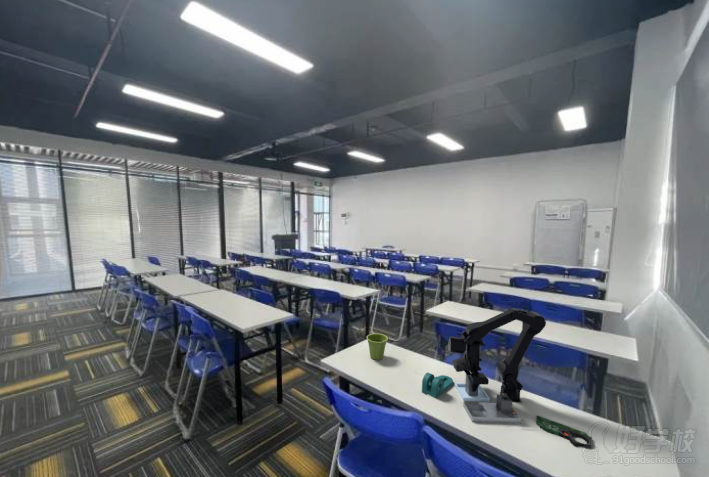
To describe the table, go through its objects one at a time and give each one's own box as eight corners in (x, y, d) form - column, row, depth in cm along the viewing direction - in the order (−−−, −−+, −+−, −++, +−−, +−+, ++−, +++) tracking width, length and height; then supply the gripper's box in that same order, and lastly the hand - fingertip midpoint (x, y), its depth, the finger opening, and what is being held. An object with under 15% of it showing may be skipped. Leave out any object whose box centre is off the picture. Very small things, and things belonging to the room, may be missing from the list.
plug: (474, 390, 125) (474, 371, 125) (477, 396, 121) (478, 376, 121) (465, 390, 125) (465, 371, 125) (468, 395, 121) (469, 376, 121)
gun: (534, 428, 102) (537, 413, 110) (534, 432, 102) (536, 417, 110) (593, 450, 92) (591, 433, 100) (592, 455, 92) (590, 437, 100)
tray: (478, 387, 129) (479, 383, 129) (490, 402, 117) (490, 398, 117) (454, 386, 129) (454, 382, 129) (463, 401, 118) (463, 397, 118)
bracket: (435, 400, 119) (436, 381, 119) (421, 393, 124) (422, 375, 123) (455, 384, 131) (455, 367, 131) (442, 378, 136) (442, 362, 136)
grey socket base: (507, 409, 113) (508, 387, 113) (520, 424, 104) (521, 401, 104) (463, 407, 114) (464, 385, 114) (471, 423, 105) (472, 399, 105)
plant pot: (361, 357, 155) (362, 337, 155) (374, 350, 164) (374, 331, 164) (379, 364, 148) (379, 343, 147) (391, 357, 157) (392, 337, 156)
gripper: (448, 344, 132) (446, 376, 133) (462, 363, 113) (460, 401, 114) (471, 345, 132) (470, 377, 132) (489, 364, 113) (488, 402, 114)
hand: (471, 388), depth 123 cm, fingers closed on plug, 4 cm apart
